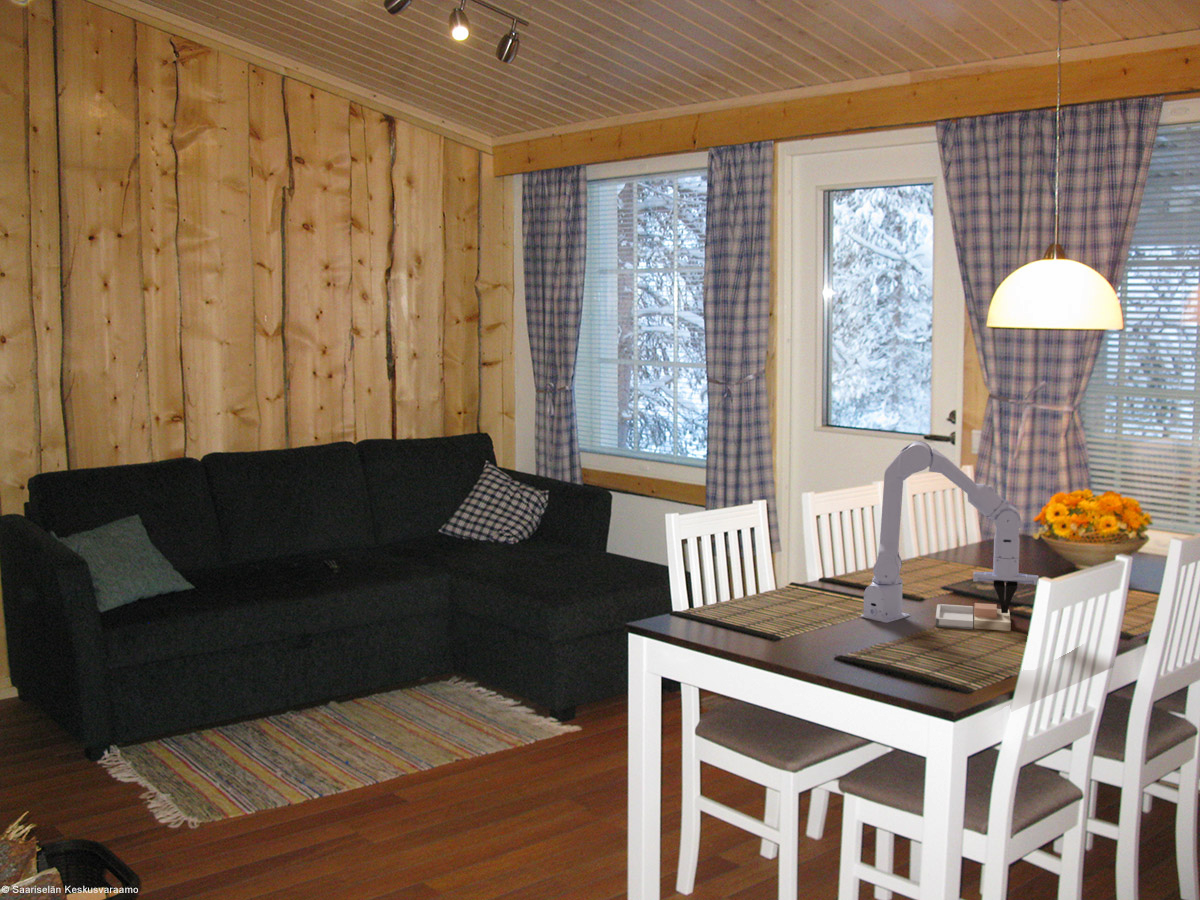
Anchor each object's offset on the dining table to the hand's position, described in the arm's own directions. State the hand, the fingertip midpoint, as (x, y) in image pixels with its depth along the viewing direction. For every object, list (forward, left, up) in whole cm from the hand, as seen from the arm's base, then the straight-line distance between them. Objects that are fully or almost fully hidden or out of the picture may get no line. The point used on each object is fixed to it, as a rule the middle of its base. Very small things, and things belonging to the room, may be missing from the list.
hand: (1004, 612), depth 265 cm
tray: (-6, +10, -3) cm, 12 cm away
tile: (-2, +4, -1) cm, 4 cm away
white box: (-1, +2, -3) cm, 4 cm away
